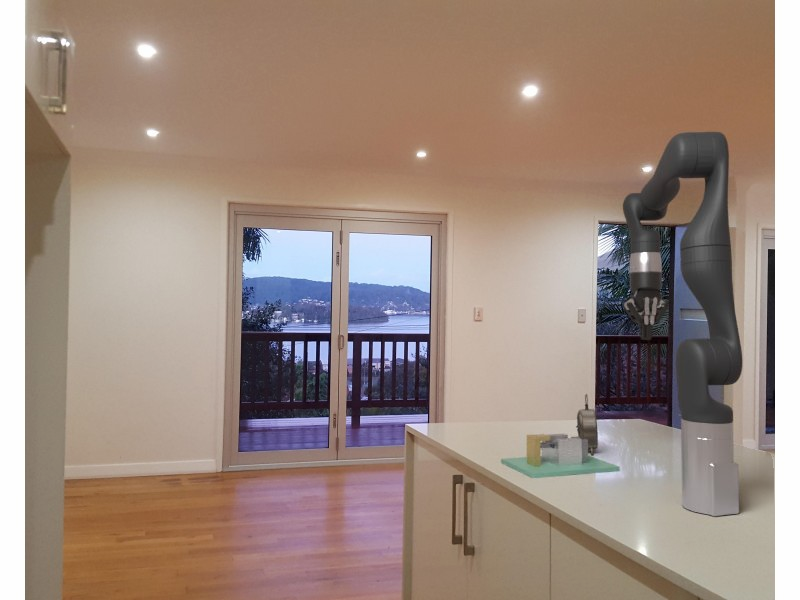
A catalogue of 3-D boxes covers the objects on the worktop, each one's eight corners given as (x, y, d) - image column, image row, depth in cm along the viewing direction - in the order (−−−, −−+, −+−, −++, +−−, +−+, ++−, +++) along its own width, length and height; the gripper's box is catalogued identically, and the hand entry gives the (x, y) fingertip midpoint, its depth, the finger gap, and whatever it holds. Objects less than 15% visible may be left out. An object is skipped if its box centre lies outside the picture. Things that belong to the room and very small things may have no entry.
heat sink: (592, 464, 154) (592, 438, 154) (558, 466, 151) (558, 440, 151) (573, 457, 162) (573, 432, 162) (541, 459, 159) (541, 434, 159)
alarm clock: (599, 456, 167) (598, 396, 168) (578, 455, 168) (577, 396, 169) (594, 448, 178) (594, 391, 179) (575, 447, 179) (575, 391, 180)
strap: (584, 446, 156) (584, 442, 156) (541, 448, 153) (541, 444, 153) (577, 444, 159) (577, 440, 159) (534, 446, 156) (534, 442, 156)
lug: (551, 465, 153) (551, 436, 153) (534, 466, 152) (534, 437, 152) (542, 461, 157) (542, 433, 157) (526, 462, 155) (526, 434, 156)
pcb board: (619, 470, 152) (619, 466, 152) (532, 477, 145) (532, 473, 145) (581, 456, 167) (581, 453, 167) (501, 462, 160) (501, 458, 160)
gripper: (633, 269, 151) (634, 340, 151) (677, 270, 155) (678, 340, 155) (614, 271, 159) (614, 339, 158) (656, 273, 163) (657, 339, 162)
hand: (646, 339), depth 156 cm, fingers closed
